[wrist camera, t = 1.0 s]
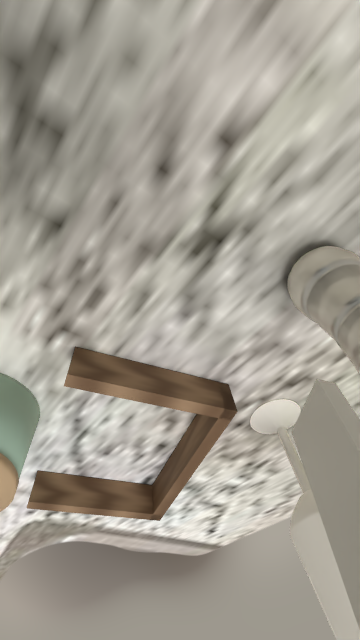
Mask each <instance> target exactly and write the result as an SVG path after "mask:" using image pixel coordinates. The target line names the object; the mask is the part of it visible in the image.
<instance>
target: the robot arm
mask: <svg viewBox="0 0 360 640" xmlns="http://www.w3.org/2000/svg"><path fill="white" fill-rule="evenodd" d="M292 435H293V438H294V441H295V444H296V447H297V449H298V452H299V455H300V458H301V461H302V464H303V467H304V470H305V473H306V476H307V479H308V481H309V484H310V487H311V490H312V493H313V496H314V499H315V502H316V505H317V508H318V510H319V513H320V516H321V519H322V522H323V525H324V528H325V531H326V534H327V537H328V540H329V542H330V545H331V548H332V551H333V554H334V557H335V560H336V563H337V566H338V569H339V572H340V574H341V577H342V580H343V583H344V586H345V589H346V592H347V595H348V598H349V601H350V604H351V606H352V609H353V612H354V615H355V618H356V621H357V624H358V627H359V630H360V419H359V418H358V416H357V415H356V413H355V412H354V410H353V409H352V407H351V406H350V404H349V403H348V401H347V400H346V398H345V397H344V395H343V394H342V392H341V391H340V389H339V388H338V386H337V385H336V383H332V382H328V381H324V380H320V379H316V382H315V384H314V386H313V388H312V390H311V392H310V394H309V396H308V398H307V400H306V402H305V404H304V407H303V409H302V411H301V413H300V415H299V417H298V419H297V421H296V423H295V425H294V427H293V430H292Z"/></svg>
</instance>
